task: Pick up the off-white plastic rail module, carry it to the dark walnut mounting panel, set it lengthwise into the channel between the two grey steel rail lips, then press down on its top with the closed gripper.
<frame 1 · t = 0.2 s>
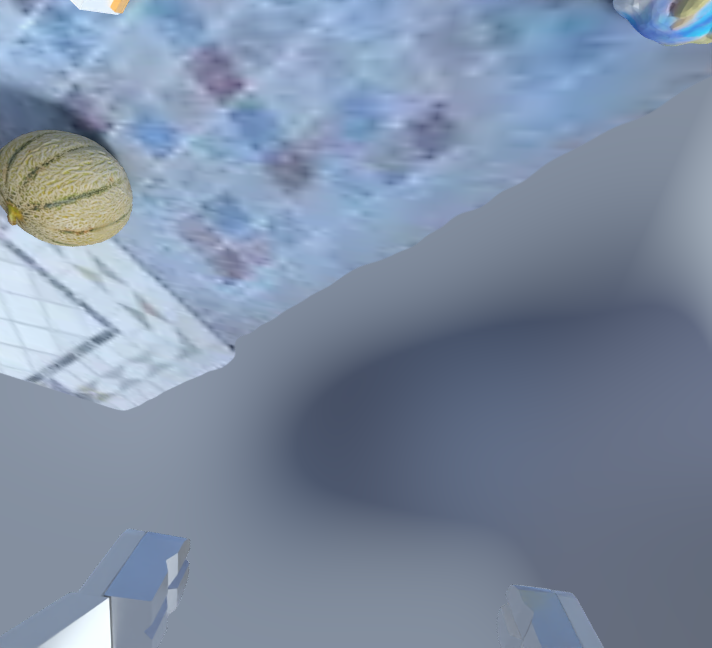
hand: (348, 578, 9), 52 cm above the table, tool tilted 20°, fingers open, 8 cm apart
cantaloupe: (102, 175, 56), on the table
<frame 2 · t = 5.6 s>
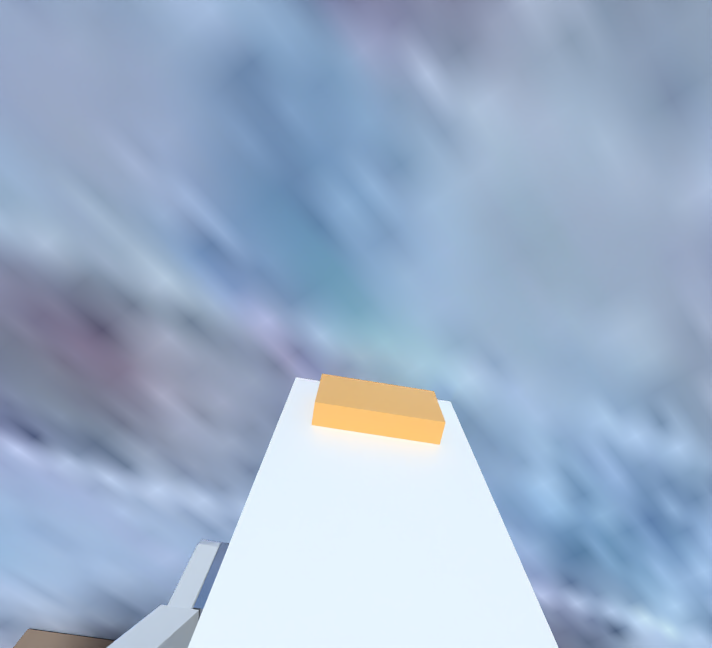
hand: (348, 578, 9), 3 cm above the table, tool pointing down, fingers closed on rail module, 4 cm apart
rail module: (351, 500, 12), on the table, touching gripper
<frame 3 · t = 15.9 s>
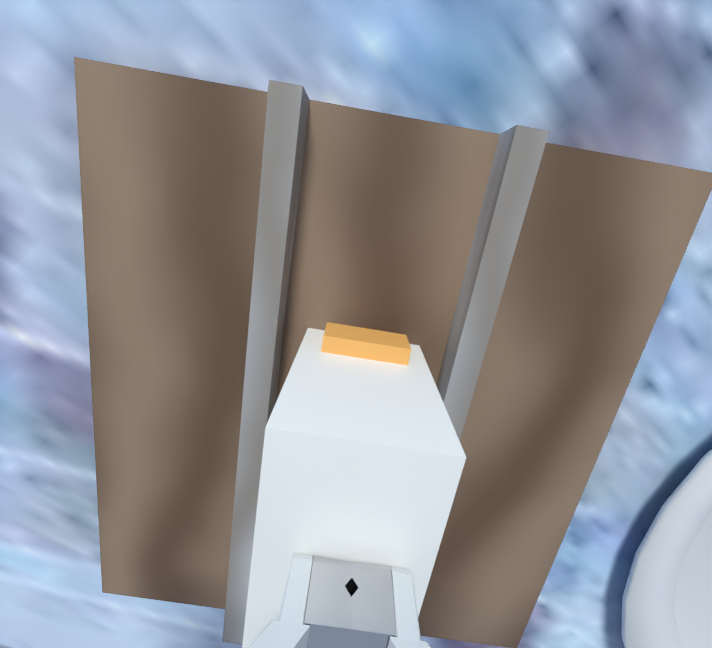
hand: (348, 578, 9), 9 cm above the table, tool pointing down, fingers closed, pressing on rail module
rail panel: (350, 406, 18), on the table
rail module: (348, 423, 16), point 2 cm above the table, touching gripper, rail panel
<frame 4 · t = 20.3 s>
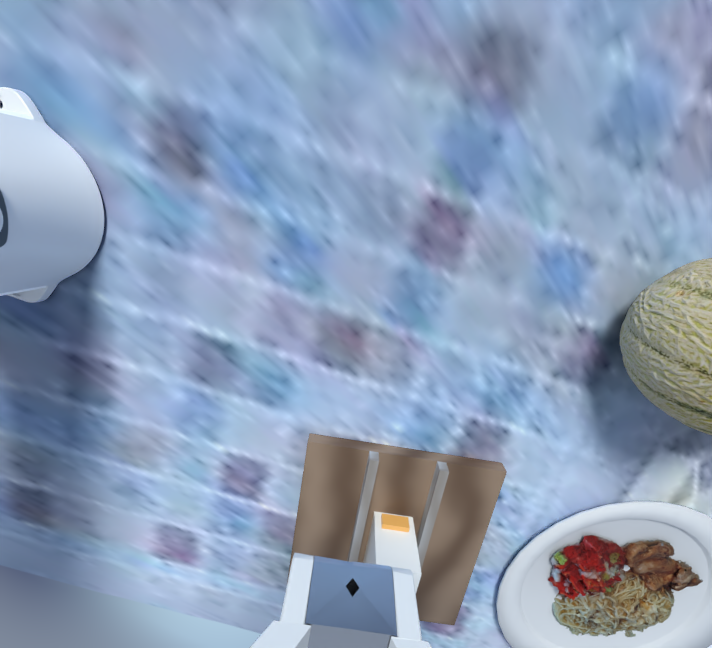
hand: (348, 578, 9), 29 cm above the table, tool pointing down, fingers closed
rail panel: (386, 531, 46), on the table
cantaloupe: (661, 319, 37), on the table
plated food: (609, 585, 48), on the table
rail module: (387, 540, 44), point 1 cm above the table, touching rail panel
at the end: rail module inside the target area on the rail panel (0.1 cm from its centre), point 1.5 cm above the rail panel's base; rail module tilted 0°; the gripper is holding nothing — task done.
